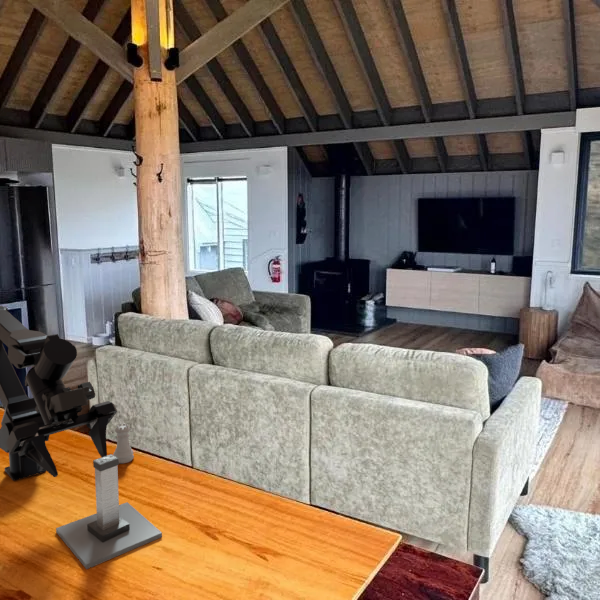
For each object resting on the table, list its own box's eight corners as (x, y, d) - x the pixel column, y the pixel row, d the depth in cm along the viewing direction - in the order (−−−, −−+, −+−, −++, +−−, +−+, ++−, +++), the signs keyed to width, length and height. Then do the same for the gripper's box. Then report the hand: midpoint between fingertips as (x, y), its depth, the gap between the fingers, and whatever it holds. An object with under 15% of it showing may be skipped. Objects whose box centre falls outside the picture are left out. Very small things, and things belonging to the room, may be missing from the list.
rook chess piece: (127, 465, 120) (126, 430, 118) (109, 463, 121) (107, 428, 119) (137, 456, 124) (136, 422, 123) (119, 454, 125) (118, 420, 124)
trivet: (56, 532, 95) (56, 528, 95) (127, 506, 104) (127, 502, 103) (86, 569, 86) (86, 564, 85) (161, 536, 94) (161, 532, 94)
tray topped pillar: (87, 530, 94) (84, 459, 92) (114, 518, 98) (111, 450, 96) (102, 542, 91) (99, 469, 89) (129, 530, 95) (127, 459, 93)
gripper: (8, 382, 92) (41, 465, 87) (110, 360, 106) (144, 431, 101) (-7, 414, 99) (23, 493, 93) (91, 390, 112) (122, 457, 107)
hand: (81, 467), depth 99 cm, fingers open, 9 cm apart
